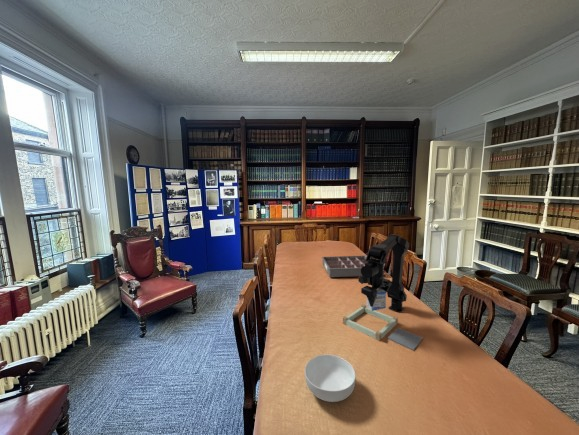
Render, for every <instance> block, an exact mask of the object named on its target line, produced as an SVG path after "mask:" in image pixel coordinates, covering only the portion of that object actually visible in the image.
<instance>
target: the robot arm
mask: <svg viewBox="0 0 579 435" xmlns="http://www.w3.org/2000/svg"><path fill="white" fill-rule="evenodd" d="M409 248H410V242H409V241H408V240H407V239H405V238H403V237H402V236H401V235H398V234H393V233H392V234H389V235H388V237H387V238H385V239H384V240H383V241H381V243H379V244H373V245H372V246H371V247H370V248H369V249H368V252H367V254H366V255H367V257H366V260H365V261H368V263H365V266H363V267H362V268H361V274H362V276H358V282H359V284H361V285H363V284H367V285H365V286H363V287H362V288H361V289H360V292H361V294H362V295H364V296H366V299H367V298H368V301H369V304H370V306H371V307H373V305H374V302H375V300H376V297H377V295H376V294H377V289H380V288H381V289H383V290H384V291H386V296H387V298H390V299H391V300H390V301H391V302H390V306H389V307H388V309H389V310H392V311H394V312H396V313H402V312H403V311H404V310H405V307H404V306H403V303H404V302H407V298H408V296H407V293H406V292H405V286H404V284H403V281H402V280H403V269H404V268H403V267H404V258H405V257H404V256H406V254H407V253H408V250H409ZM389 251H392V254H393V255H394V256H393V265H392V276H391V280H390V279H388V278H386V274H384V272H385V268H384V267H385V263H386V260H387V257H388V252H389Z"/></svg>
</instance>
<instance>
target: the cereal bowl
mask: <svg viewBox="0 0 579 435" xmlns="http://www.w3.org/2000/svg"><path fill="white" fill-rule="evenodd" d="M304 379H305V383H306V386H307V388H308V389H309V391H310V392H311V394H313V395H314V396H315V397H316V398H318V399H320V400H322V401H325V402H330V403H336V402H340V401H343V400H346V399H348V397H349V396H351V395H352V393H353V391H354V389H355V386H356V380H357V376H356V370H355V369H354V367H353V365H352V364H351V363H350V362H349V361H348V360H346V359H345V358H342V357H341V356H339V355H335V354H329V353H326V354H320V355H316V356H314V357H312V358H310V359H309V360H308V361H307V363H306V364H305V367H304Z"/></svg>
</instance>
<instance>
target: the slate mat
mask: <svg viewBox="0 0 579 435" xmlns="http://www.w3.org/2000/svg"><path fill="white" fill-rule="evenodd" d="M423 338H424V337H422V336H419V335H417V334H415V333H412V332H410V331H407V330H405V329H402V328H400V327H397V328H396V329H395V330H394V331H393V332H392V333H390V335H389V336H387V339H388V341H389V340H390V341H391V342H394V343H396V344H399V345H400V346H403V347H404V348H407V349H409V350H411V351H414V350H415V349H416V348H418V346H419V344H420V343H421V342H422V341H423Z"/></svg>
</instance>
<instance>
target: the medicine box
mask: <svg viewBox="0 0 579 435" xmlns="http://www.w3.org/2000/svg"><path fill="white" fill-rule="evenodd" d="M376 295H377V297H376V300H375V302H374V305H373V307H371V306H370V304H369V301H368V298H367V297H366V307H367V308H369V309H370V310H372V311H374V310H375V311H379V310H384V309H387V305H386V304H387V293H386V291H384V290H383V289H381V288H380V289H377V294H376Z"/></svg>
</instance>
